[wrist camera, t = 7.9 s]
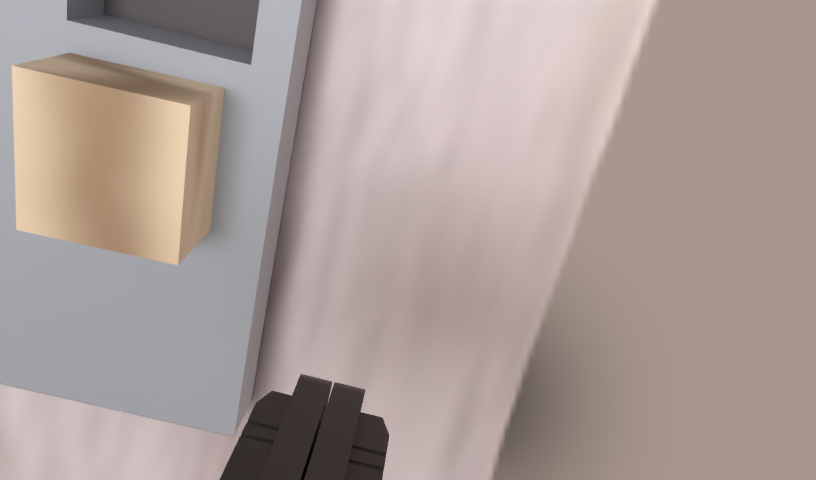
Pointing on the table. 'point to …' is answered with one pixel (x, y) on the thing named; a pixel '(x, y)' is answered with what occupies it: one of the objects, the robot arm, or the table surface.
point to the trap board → (140, 277)
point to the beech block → (114, 155)
